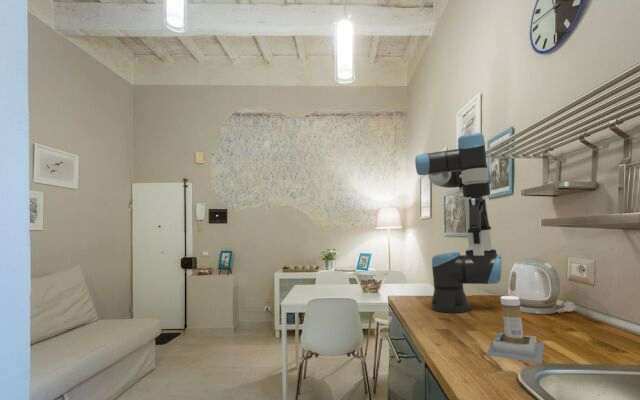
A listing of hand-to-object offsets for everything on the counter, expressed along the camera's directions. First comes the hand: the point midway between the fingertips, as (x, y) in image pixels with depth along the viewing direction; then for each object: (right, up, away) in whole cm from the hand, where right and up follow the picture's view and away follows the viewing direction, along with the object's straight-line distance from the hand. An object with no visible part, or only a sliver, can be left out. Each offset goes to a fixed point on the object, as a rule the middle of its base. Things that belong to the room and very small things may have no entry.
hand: (482, 252), depth 99 cm
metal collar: (+3, -23, -13) cm, 27 cm away
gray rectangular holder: (+3, -24, -13) cm, 28 cm away
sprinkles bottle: (+3, -24, -13) cm, 27 cm away
